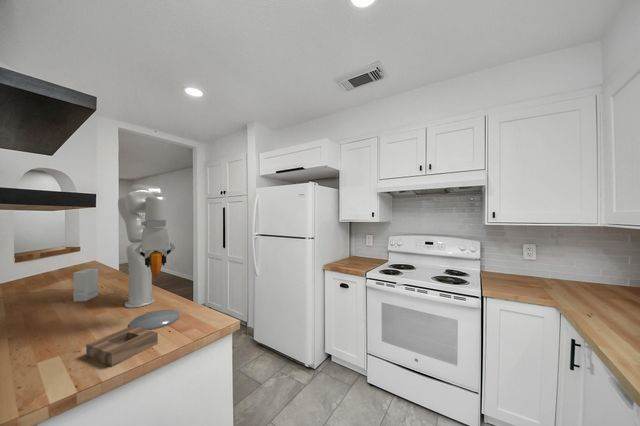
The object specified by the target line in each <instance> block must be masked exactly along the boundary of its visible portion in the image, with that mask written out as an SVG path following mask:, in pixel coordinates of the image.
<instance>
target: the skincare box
mask: <svg viewBox="0 0 640 426" xmlns="http://www.w3.org/2000/svg"><path fill="white" fill-rule="evenodd" d="M98 285H99V269H98V268H85V269H81V270H79V271H75V272H73V302H87V301H89V300H92V299H94V298H96V297H98V296H99V286H98Z"/></svg>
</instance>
